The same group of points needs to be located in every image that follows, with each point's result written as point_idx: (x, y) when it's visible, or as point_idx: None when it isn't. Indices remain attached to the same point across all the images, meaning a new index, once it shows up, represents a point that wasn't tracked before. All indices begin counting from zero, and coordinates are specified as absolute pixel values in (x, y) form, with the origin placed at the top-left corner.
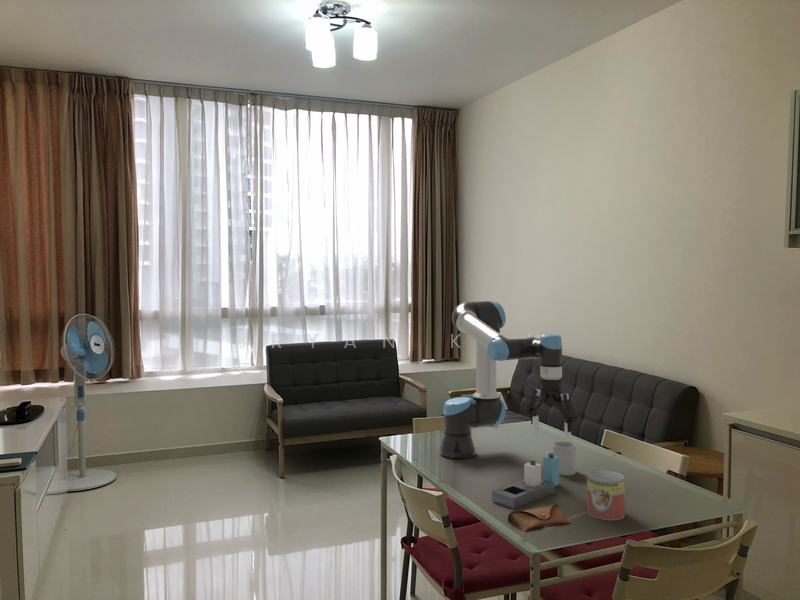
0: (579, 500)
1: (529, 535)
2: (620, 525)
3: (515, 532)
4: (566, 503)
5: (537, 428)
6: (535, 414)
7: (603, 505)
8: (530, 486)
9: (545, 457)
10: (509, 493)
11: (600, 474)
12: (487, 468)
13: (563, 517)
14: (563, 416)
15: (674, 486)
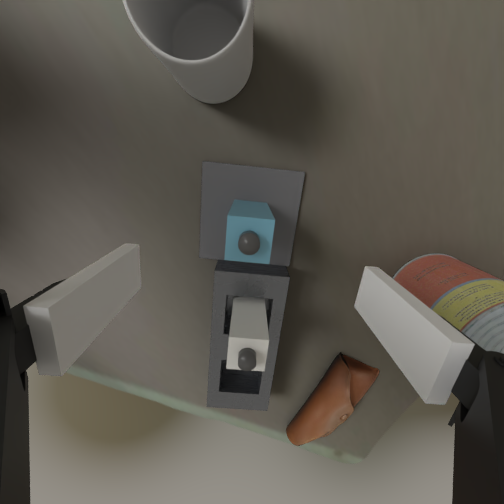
0: (352, 260)
1: (337, 439)
2: None
3: (315, 443)
4: (333, 295)
5: (123, 271)
6: (16, 343)
7: None
8: None
9: (233, 257)
10: (244, 396)
11: (493, 349)
12: (16, 205)
13: (369, 382)
14: (456, 465)
15: None
